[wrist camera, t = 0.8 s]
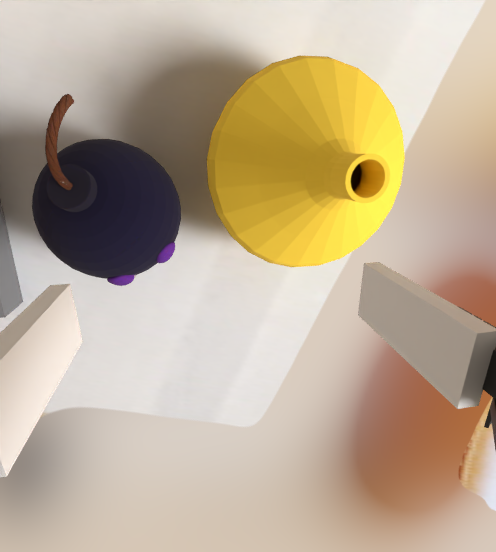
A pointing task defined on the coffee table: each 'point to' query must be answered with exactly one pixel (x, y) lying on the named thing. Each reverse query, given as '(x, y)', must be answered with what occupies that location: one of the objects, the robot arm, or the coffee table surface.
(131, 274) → the toy
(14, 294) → the console
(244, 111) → the vase
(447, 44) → the coffee table surface
